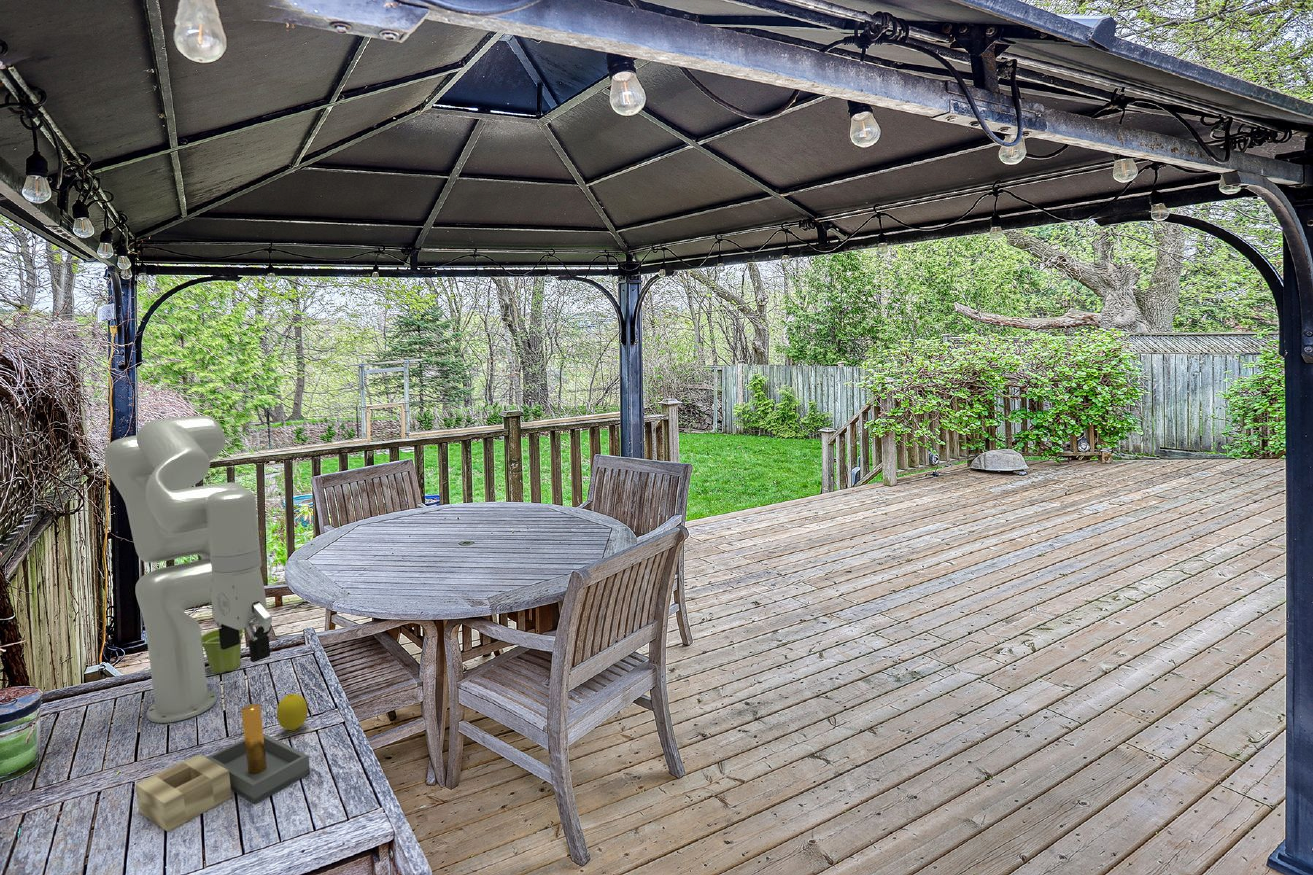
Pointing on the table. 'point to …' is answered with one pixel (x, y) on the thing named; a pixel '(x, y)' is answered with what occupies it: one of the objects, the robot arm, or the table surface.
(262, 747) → the pin
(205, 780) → the pin block
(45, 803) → the table surface
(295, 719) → the lemon
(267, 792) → the tray
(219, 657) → the plant pot
